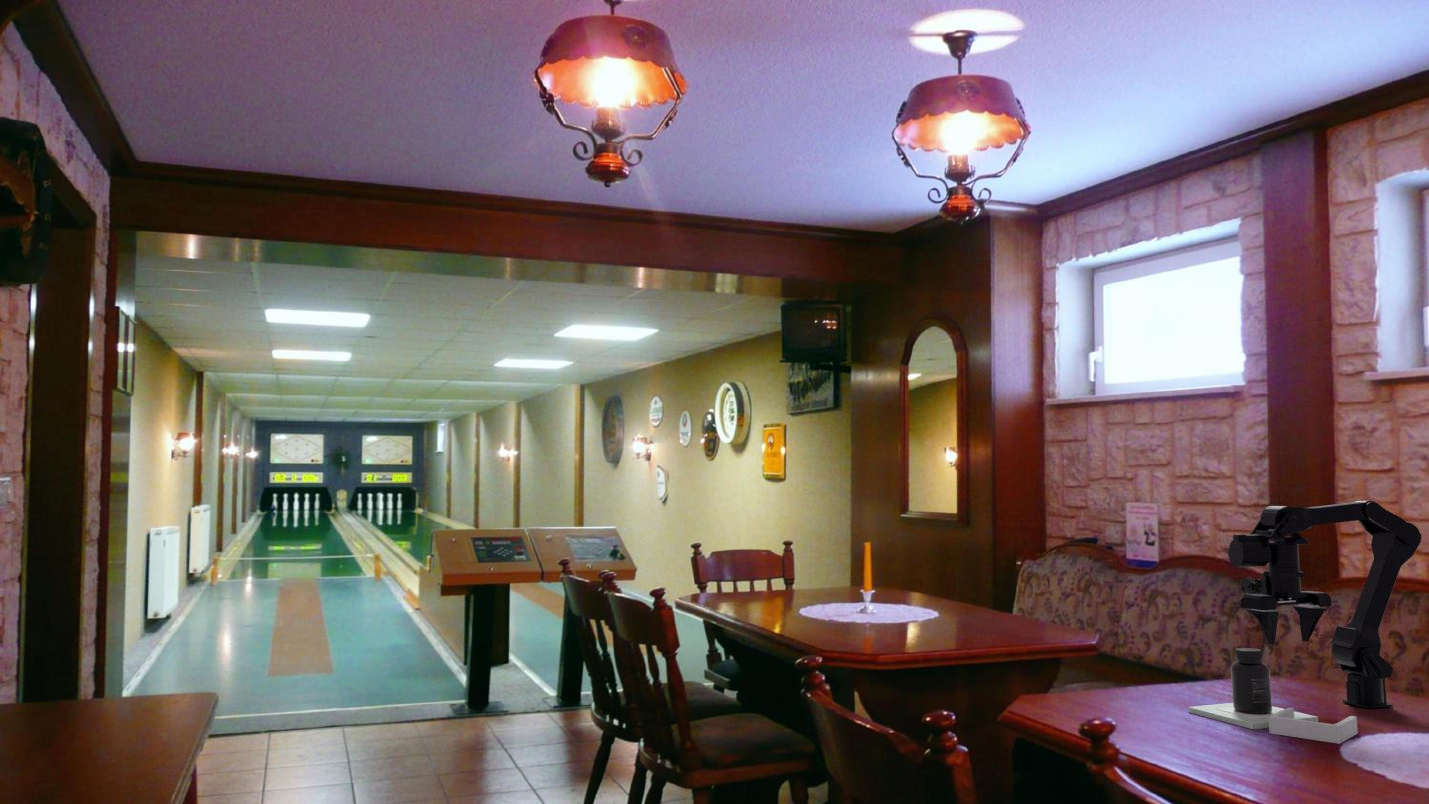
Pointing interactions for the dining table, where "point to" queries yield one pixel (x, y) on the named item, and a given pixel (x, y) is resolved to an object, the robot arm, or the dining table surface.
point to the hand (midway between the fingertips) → (1288, 642)
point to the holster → (1312, 727)
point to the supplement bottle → (1251, 682)
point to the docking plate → (1243, 715)
